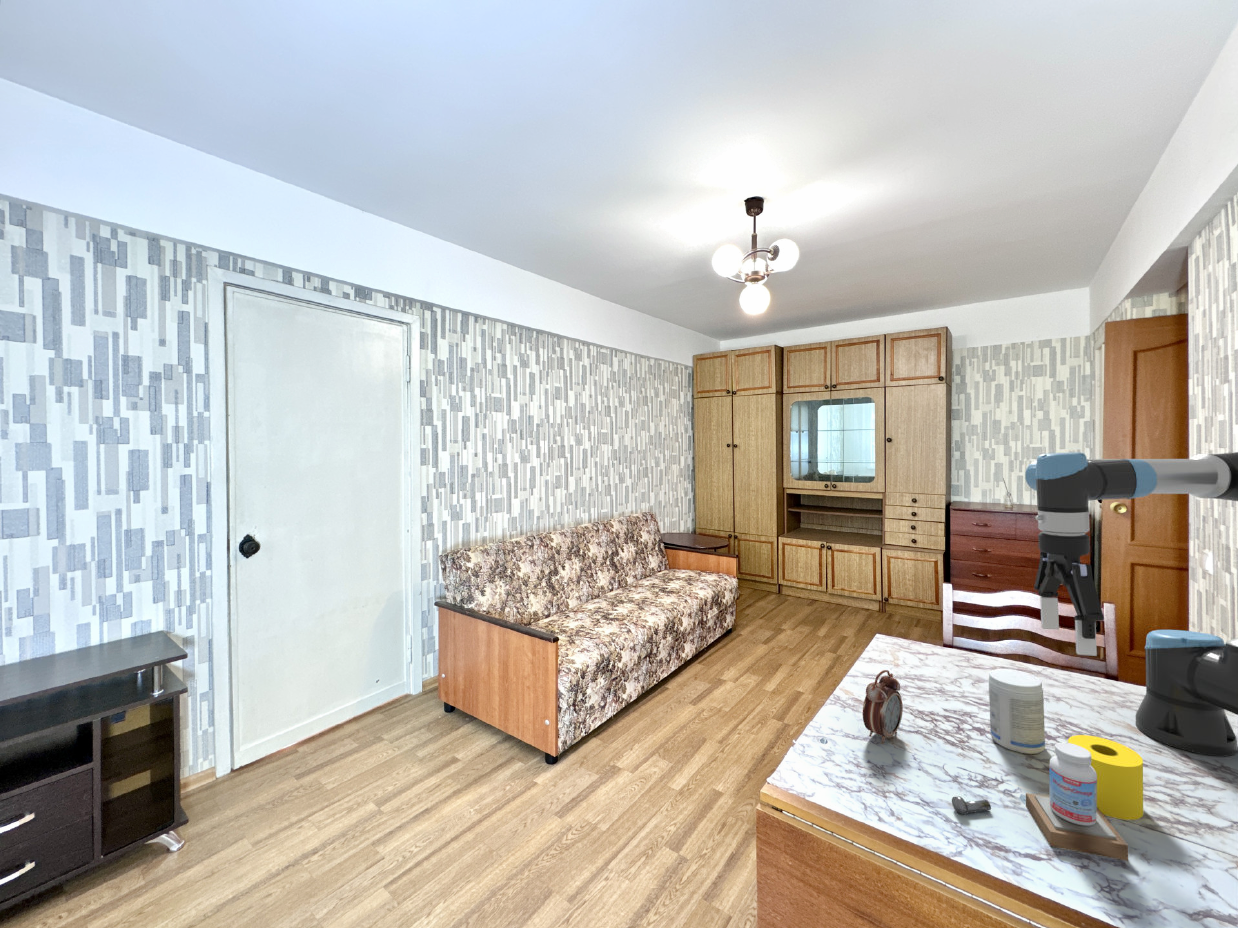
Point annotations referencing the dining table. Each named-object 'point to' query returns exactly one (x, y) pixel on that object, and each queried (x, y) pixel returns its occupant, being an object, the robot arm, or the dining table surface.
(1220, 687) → the robot arm
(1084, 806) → the pill bottle
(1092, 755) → the yellow toilet paper roll
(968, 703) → the dining table surface
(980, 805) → the loose bolt
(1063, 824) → the stand
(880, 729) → the alarm clock
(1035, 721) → the supplement tub
